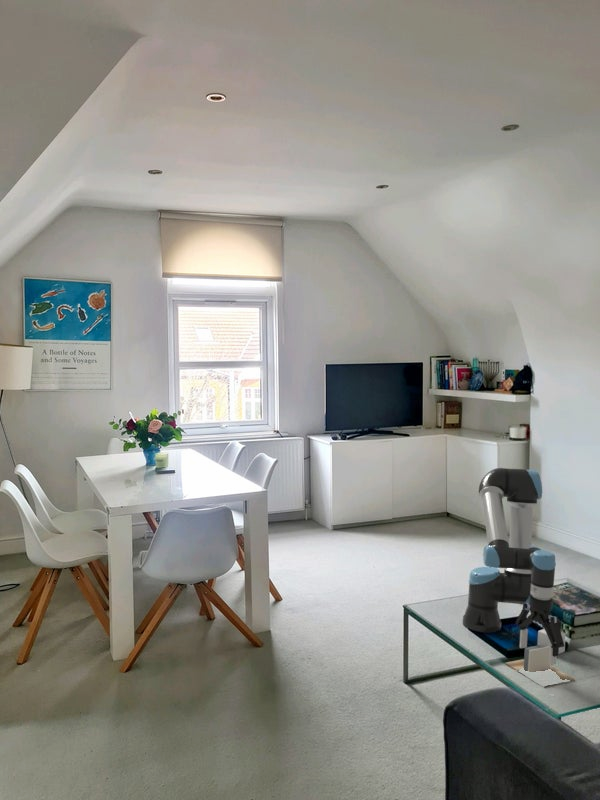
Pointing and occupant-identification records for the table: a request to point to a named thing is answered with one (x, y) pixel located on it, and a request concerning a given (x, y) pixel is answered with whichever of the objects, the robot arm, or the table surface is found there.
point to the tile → (537, 658)
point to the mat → (520, 664)
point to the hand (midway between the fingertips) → (537, 655)
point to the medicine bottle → (545, 640)
